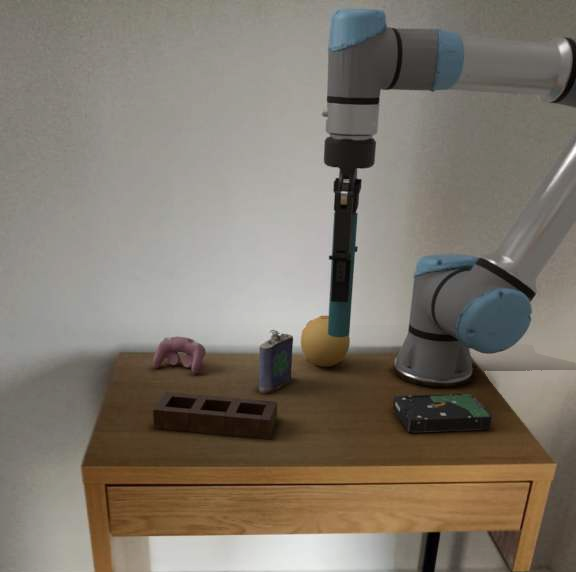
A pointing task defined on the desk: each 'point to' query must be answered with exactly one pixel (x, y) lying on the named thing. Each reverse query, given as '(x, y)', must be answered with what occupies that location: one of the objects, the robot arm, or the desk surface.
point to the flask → (275, 362)
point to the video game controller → (180, 344)
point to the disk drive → (441, 413)
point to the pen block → (215, 415)
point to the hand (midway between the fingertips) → (340, 297)
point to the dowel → (342, 310)
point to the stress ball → (323, 343)
